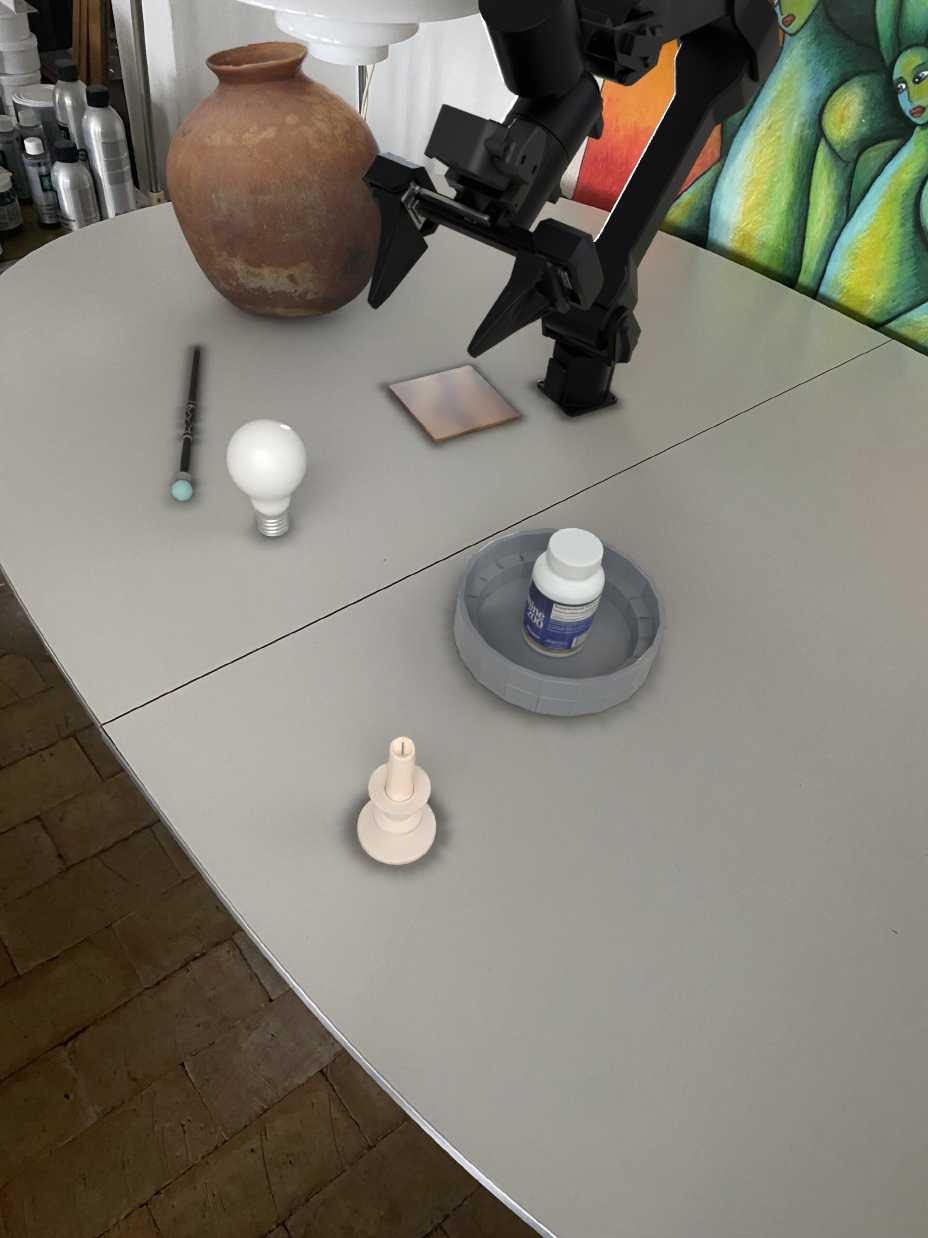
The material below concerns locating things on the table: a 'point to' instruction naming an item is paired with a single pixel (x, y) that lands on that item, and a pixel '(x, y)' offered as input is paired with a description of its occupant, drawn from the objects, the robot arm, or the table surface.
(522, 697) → the basin
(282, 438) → the lightbulb
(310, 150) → the pottery
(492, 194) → the robot arm
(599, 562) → the pill bottle
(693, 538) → the table surface
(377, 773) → the candle
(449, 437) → the coaster
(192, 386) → the magic wand
